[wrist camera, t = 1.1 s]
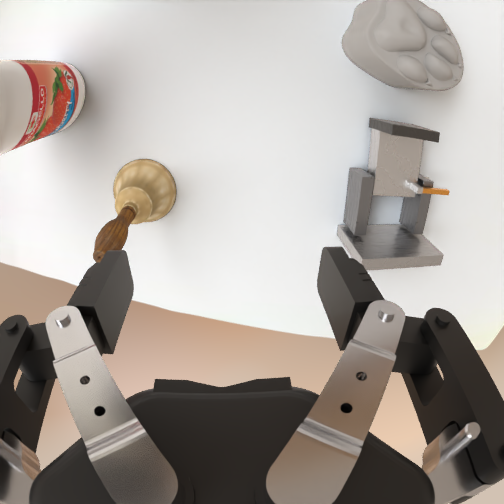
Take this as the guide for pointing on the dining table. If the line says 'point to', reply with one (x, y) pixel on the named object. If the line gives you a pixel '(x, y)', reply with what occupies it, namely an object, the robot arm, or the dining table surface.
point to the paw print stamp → (403, 45)
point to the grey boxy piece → (398, 158)
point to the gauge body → (386, 228)
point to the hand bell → (136, 202)
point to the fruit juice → (37, 100)
